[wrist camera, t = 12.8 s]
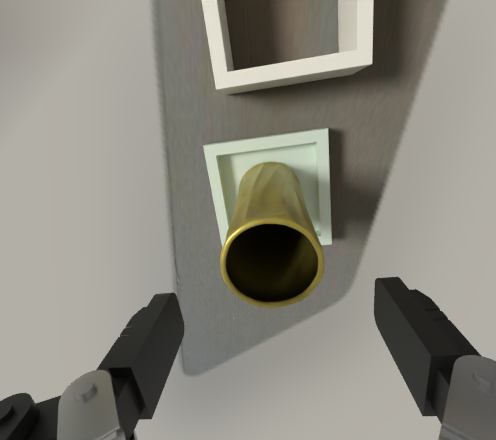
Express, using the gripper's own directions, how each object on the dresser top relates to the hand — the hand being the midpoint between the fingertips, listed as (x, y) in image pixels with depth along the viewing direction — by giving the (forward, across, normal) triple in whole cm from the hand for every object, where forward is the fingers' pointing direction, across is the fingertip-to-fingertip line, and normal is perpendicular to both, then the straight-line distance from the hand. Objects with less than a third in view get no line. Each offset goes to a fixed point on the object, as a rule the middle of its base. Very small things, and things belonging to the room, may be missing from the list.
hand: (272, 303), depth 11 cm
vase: (+17, 0, 0) cm, 17 cm away
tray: (+18, 0, 0) cm, 18 cm away
